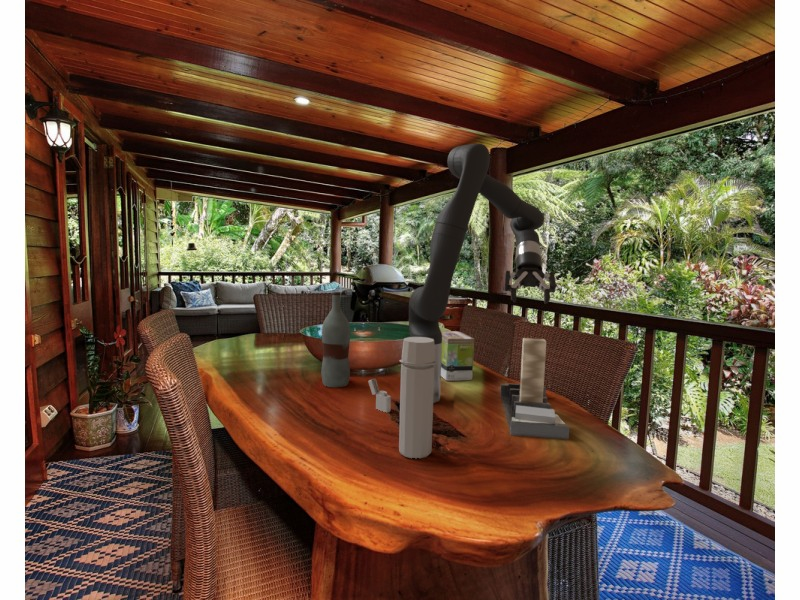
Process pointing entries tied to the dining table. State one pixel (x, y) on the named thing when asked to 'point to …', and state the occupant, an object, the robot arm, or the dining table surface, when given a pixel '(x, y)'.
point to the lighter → (380, 397)
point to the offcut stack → (536, 415)
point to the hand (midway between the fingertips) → (530, 301)
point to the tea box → (457, 356)
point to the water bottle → (416, 397)
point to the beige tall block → (532, 370)
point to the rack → (516, 428)
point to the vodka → (335, 346)
